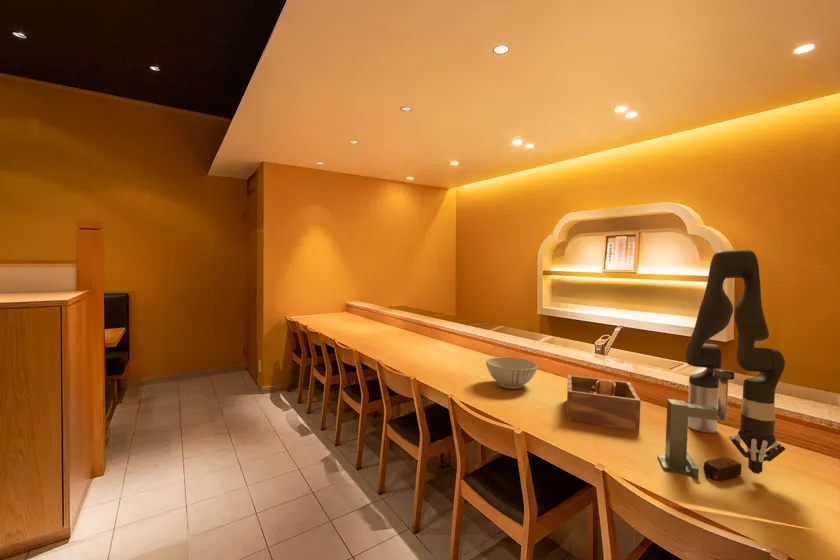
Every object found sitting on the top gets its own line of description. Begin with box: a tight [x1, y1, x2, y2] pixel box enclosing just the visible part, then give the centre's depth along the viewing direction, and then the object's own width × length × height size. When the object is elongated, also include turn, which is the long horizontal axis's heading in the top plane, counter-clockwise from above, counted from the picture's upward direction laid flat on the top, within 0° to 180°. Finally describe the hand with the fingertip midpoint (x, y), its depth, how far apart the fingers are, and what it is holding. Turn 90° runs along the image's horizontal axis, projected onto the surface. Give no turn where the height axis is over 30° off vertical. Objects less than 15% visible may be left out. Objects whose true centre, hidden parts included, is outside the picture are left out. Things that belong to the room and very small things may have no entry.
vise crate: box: [566, 374, 641, 432], centre depth 161 cm, size 26×26×12 cm
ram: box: [713, 368, 736, 422], centre depth 114 cm, size 5×5×15 cm
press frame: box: [656, 398, 719, 480], centre depth 117 cm, size 12×14×20 cm
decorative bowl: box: [485, 356, 538, 390], centre depth 199 cm, size 27×27×12 cm
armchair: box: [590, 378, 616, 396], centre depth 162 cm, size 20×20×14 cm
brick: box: [703, 456, 742, 481], centre depth 114 cm, size 11×4×5 cm
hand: (754, 472), depth 111 cm, fingers closed
